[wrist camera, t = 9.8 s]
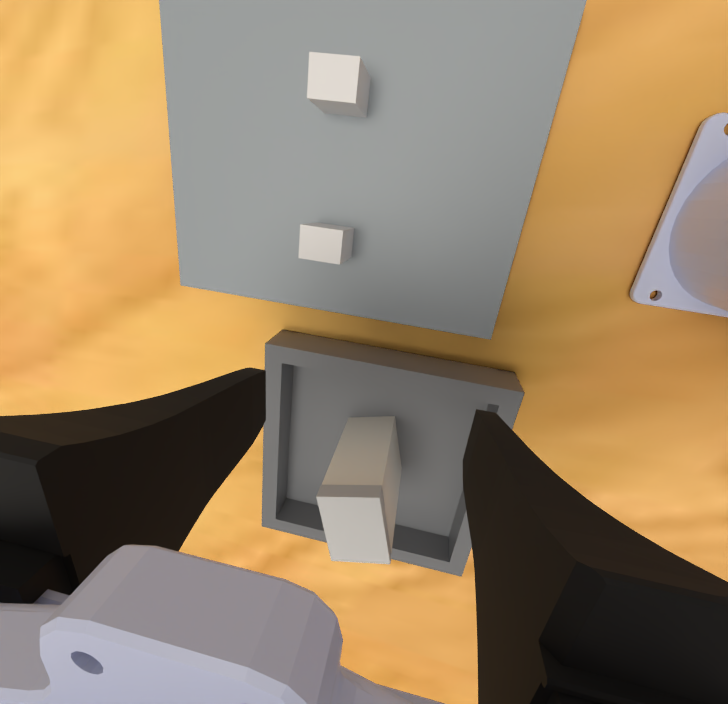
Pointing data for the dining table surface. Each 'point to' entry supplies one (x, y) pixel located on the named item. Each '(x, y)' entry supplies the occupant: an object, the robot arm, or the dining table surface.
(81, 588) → the robot arm
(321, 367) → the parts tray
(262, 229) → the panel
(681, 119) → the dining table surface
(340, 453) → the block
